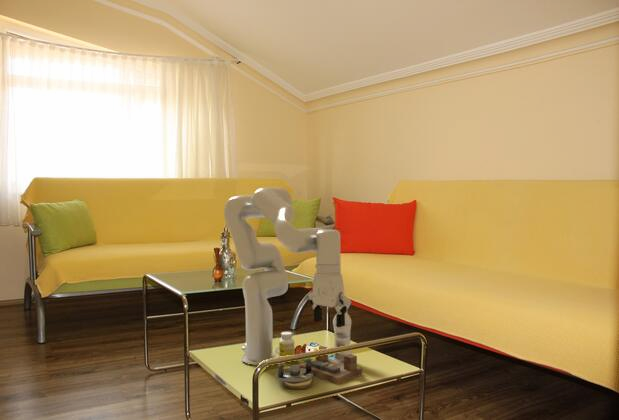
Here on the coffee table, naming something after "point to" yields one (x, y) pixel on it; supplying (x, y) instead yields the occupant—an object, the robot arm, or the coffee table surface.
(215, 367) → the coffee table surface
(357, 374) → the stand
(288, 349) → the supplement bottle
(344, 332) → the plastic bottle
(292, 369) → the capstan
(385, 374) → the coffee table surface
